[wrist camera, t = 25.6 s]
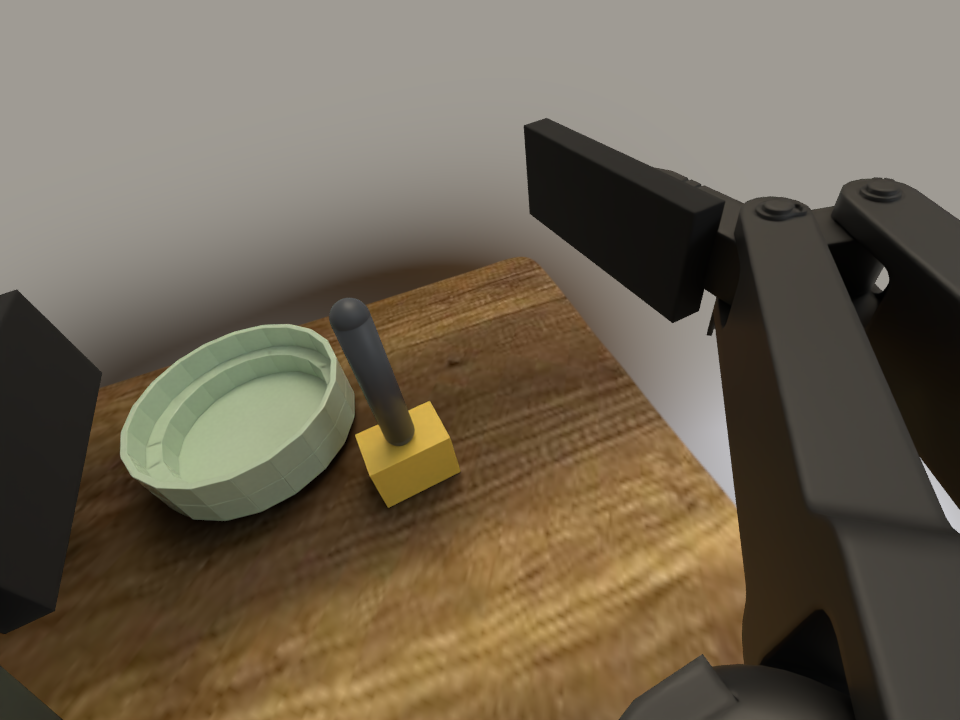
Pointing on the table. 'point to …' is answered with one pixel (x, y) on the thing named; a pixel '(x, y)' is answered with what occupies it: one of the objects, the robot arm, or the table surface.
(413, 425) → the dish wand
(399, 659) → the table surface
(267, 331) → the bowl
